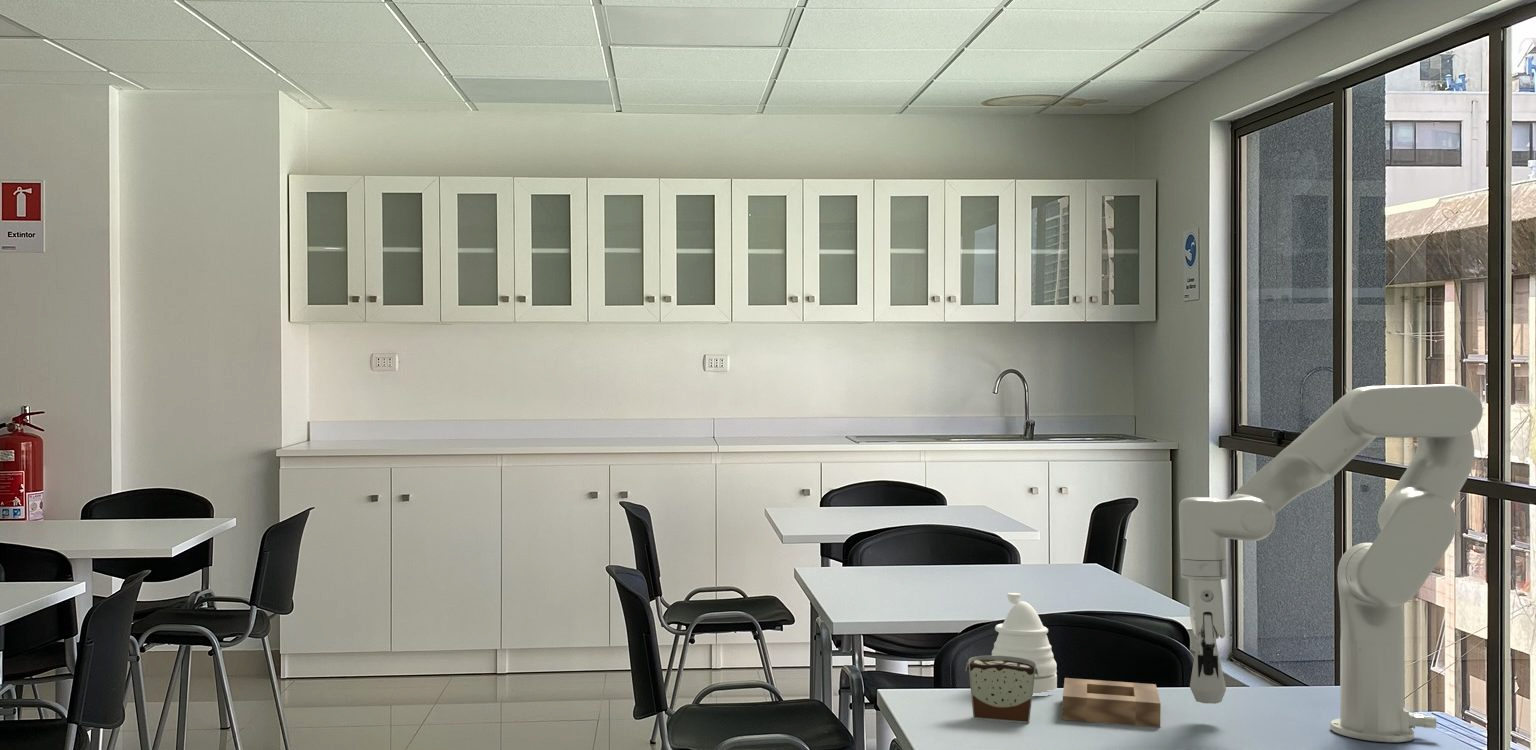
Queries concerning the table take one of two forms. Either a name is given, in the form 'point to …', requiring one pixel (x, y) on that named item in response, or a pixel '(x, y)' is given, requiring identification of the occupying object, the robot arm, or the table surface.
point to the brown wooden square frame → (1111, 702)
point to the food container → (1001, 687)
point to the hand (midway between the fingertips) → (1207, 675)
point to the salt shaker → (1207, 680)
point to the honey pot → (1027, 642)
